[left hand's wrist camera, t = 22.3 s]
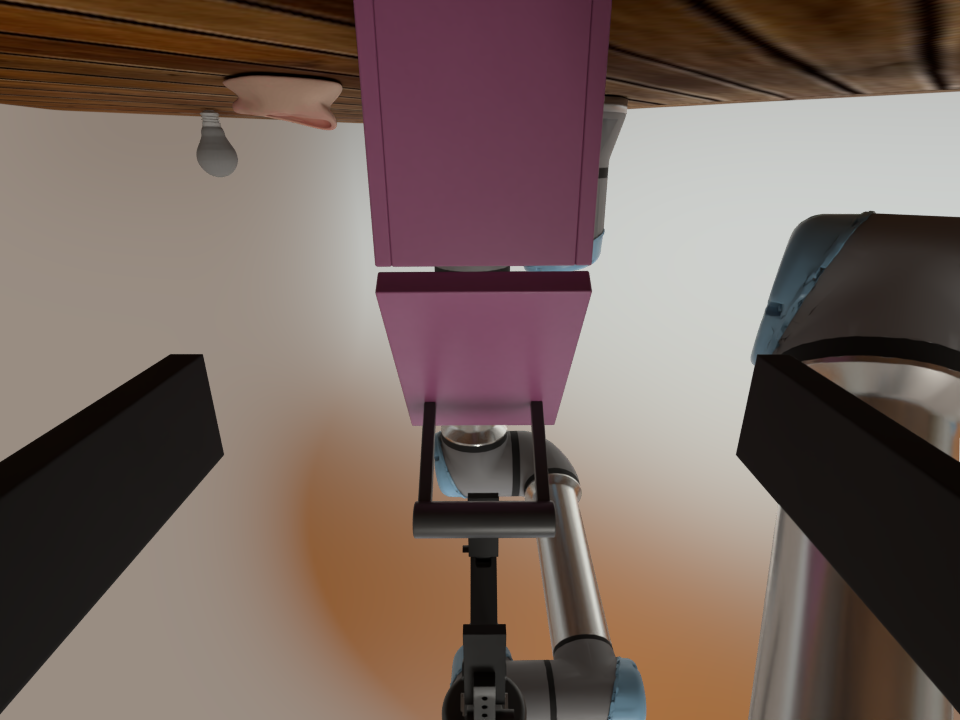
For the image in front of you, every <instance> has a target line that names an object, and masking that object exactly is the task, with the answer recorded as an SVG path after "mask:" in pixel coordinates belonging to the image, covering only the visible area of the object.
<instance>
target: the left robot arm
mask: <svg viewBox="0 0 960 720" xmlns="http://www.w3.org/2000/svg"><path fill="white" fill-rule="evenodd" d="M751 362H752V364H753V365H755V367H754V372H753V377H752V381H751V386H750V391H749V395H748V400H747V405H746V410H745V414H744V419H743V424H742V429H741V433H740V438H739V443H738V448H737V452H736V455H737V456H738V458H739V459H740V460H741V461H742V462H743V463H744V465H745V466H746V467H747V468H748V469H749V470H750V472H751V473H752V474H753V475H754V476H755V477H756V479H757V480H758V481H759V482H760V483H761V484H762V486H763V487H764V488H765V489H766V490H767V491H768V493H769V494H770V495H771V496H772V497H773V498H774V499H775V501H776V502H777V503H778V508H777V516H776V523H775V530H774V537H773V545H772V552H771V559H770V566H769V574H768V581H767V588H766V595H765V603H764V610H763V617H762V624H761V631H760V639H759V646H758V653H757V660H756V668H755V675H754V682H753V689H752V697H751V704H750V711H749V718H748V720H953V711H954V708H955V709H956V710H957V711H958V713H959V714H960V462H959V438H960V217H943V216H920V215H898V214H876V213H875V212H874V211H869V212H863V213H861V214H820V215H815V216H812V217H810V218H808V219H806V220H804V221H803V222H801V223H800V224H799V225H798V226H797V227H796V228H795V229H794V231H793V233H792V235H791V237H790V239H789V242H788V244H787V247H786V250H785V252H784V255H783V258H782V261H781V264H780V267H779V269H778V272H777V275H776V278H775V281H774V284H773V287H772V290H771V294H770V297H769V300H768V305H767V307H766V309H765V313H764V316H763V319H762V321H761V324H760V327H759V330H758V333H757V337H756V340H755V344H754V347H753V350H752V354H751ZM223 455H224V452H223V448H222V443H221V438H220V433H219V429H218V424H217V419H216V415H215V410H214V405H213V400H212V395H211V391H210V386H209V381H208V377H207V372H206V367H205V362H204V358H203V354H170V355H169V356H167V357H165V358H164V359H162V360H161V361H159V362H158V363H156V364H154V365H153V366H151V367H150V368H148V369H147V370H145V371H143V372H142V373H140V374H139V375H137V376H135V377H134V378H132V379H131V380H129V381H128V382H126V383H124V384H123V385H121V386H120V387H118V388H116V389H115V390H113V391H112V392H110V393H109V394H107V395H105V396H104V397H102V398H101V399H99V400H97V401H96V402H94V403H93V404H91V405H90V406H88V407H86V408H85V409H83V410H82V411H80V412H79V413H77V414H75V415H74V416H72V417H71V418H69V419H68V420H66V421H64V422H63V423H61V424H60V425H58V426H56V427H55V428H53V429H52V430H50V431H49V432H47V433H45V434H44V435H42V436H41V437H39V438H37V439H36V440H34V441H33V442H31V443H30V444H28V445H26V446H25V447H23V448H22V449H20V450H19V451H17V452H15V453H14V454H12V455H11V456H9V457H7V458H6V459H4V460H3V461H1V462H0V714H1V713H2V711H3V710H4V709H5V708H6V707H7V706H8V704H9V703H10V702H11V701H12V700H13V699H14V698H15V696H16V695H17V694H18V693H19V692H20V691H21V689H22V688H23V687H24V686H25V685H26V684H27V683H28V681H29V680H30V679H31V678H32V677H33V676H34V674H35V673H36V672H37V671H38V670H39V669H40V667H41V666H42V665H43V664H44V663H45V662H46V661H47V659H48V658H49V657H50V656H51V655H52V653H53V652H54V651H55V650H56V649H57V648H58V647H59V645H60V644H61V643H62V642H63V641H64V640H65V638H66V637H67V636H68V635H69V634H70V633H71V632H72V630H73V629H74V628H75V627H76V626H77V625H78V623H79V622H80V621H81V620H82V619H83V618H84V616H85V615H86V614H87V613H88V612H89V611H90V610H91V608H92V607H93V606H94V605H95V604H96V603H97V601H98V600H99V599H100V598H101V597H102V596H103V594H104V593H105V592H106V591H107V590H108V589H109V588H110V586H111V585H112V584H113V583H114V582H115V581H116V579H117V578H118V577H119V576H120V575H121V574H122V572H123V571H124V570H125V569H126V568H127V567H128V565H129V564H130V563H131V562H132V561H133V560H134V559H135V557H136V556H137V555H138V554H139V553H140V552H141V550H142V549H143V548H144V547H145V546H146V545H147V543H148V542H149V541H150V540H151V539H152V538H153V537H154V535H155V534H156V533H157V532H158V531H159V529H160V528H161V527H162V526H163V525H164V524H165V523H166V521H167V520H168V519H169V518H170V517H171V516H172V515H173V513H174V512H175V511H176V510H177V509H178V508H179V506H180V505H181V504H182V503H183V502H184V501H185V499H186V498H187V497H188V496H189V495H190V494H191V493H192V491H193V490H194V489H195V488H196V487H197V486H198V484H199V483H200V482H201V481H202V480H203V479H204V477H205V476H206V475H207V474H208V473H209V472H210V470H211V469H212V468H213V467H214V466H215V465H216V464H217V462H218V461H219V460H220V459H221V458H222V457H223Z"/></svg>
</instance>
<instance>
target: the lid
mask: <svg viewBox="0 0 960 720" xmlns="http://www.w3.org/2000/svg"><path fill="white" fill-rule="evenodd" d="M591 293H592V289H591V282H590V276H589V272H588V271H518V272H517V271H515V272H379V273H378V277H377V285H376V297H377V300H378V304H379V307H380V311H381V315H382V318H383V322H384V325H385V329H386V333H387V336H388V340H389V343H390V347H391V351H392V354H393V358H394V361H395V365H396V369H397V372H398V376H399V379H400V383H401V387H402V390H403V394H404V397H405V401H406V405H407V408H408V412H409V416H410V419H411V423H412V425H413V426H423V428H422V446H421V462H420V479H419V496H418V501H417V502H415V504H414V510H413V535H414V538H554V537H555V534H556V512H555V505H554V502H553V501H550V491H549V478H548V465H547V452H546V439H545V426H544V425H554V424H555V420H556V417H557V413H558V410H559V406H560V403H561V399H562V396H563V392H564V388H565V385H566V381H567V378H568V374H569V371H570V367H571V364H572V360H573V357H574V353H575V350H576V346H577V342H578V339H579V335H580V332H581V328H582V325H583V321H584V318H585V314H586V311H587V307H588V303H589V300H590V297H591ZM436 425H531V427H532V443H533V459H534V476H535V492H536V501H432V492H433V470H434V448H435V426H436Z"/></svg>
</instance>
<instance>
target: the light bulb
mask: <svg viewBox="0 0 960 720" xmlns="http://www.w3.org/2000/svg"><path fill="white" fill-rule="evenodd" d="M200 114H201V115H202V116H201V117H202V120H203V123H202V130H201V134H202V137H201V140H200V143H199V146H198V149H197V160H198V163H199V164H200V166H201V167H202V168H203V169H204V170H205V171H206V172H207V173H209V174H210V175H213V176H216V177H225V176H228V175H230V174H231V173H233V171H234V170H235V169H236V167H237V163H238V158H237V154H236V152H235V150H234V148H233V147H232V145H231V144H230V143H229V141H228V140H227V138H226V137H225V134H224V131H223V129H222V128H221V124H220V123H219V120H218V119H219V118H218V116H219V114H218V113H216V112H214V111H213V110H204V111H203V112H201V113H200Z"/></svg>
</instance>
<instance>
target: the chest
mask: <svg viewBox="0 0 960 720" xmlns="http://www.w3.org/2000/svg"><path fill="white" fill-rule="evenodd" d="M353 2H354V14H355V26H356V38H357V50H358V62H359V74H360V86H361V98H362V111H363V123H364V134H365V147H366V159H367V171H368V183H369V195H370V207H371V219H372V231H373V243H374V255H375V265H376V266H378V267H387V266H393V267H409V266H574V265H591V264H592V254H593V241H594V228H595V215H596V201H597V188H598V175H599V162H600V149H601V136H602V123H603V110H604V97H605V84H606V71H607V58H608V45H609V32H610V19H611V6H612V0H353Z"/></svg>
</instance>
